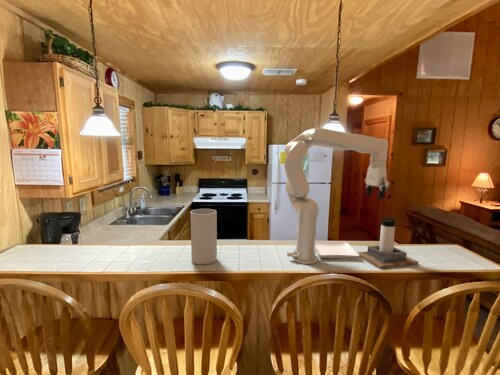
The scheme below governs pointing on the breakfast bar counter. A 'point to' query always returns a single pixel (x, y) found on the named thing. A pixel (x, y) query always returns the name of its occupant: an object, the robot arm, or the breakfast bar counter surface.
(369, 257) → the walnut board
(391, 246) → the travel mug
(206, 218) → the cylinder vase
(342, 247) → the salad plate
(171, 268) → the breakfast bar counter surface
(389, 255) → the metal collar
